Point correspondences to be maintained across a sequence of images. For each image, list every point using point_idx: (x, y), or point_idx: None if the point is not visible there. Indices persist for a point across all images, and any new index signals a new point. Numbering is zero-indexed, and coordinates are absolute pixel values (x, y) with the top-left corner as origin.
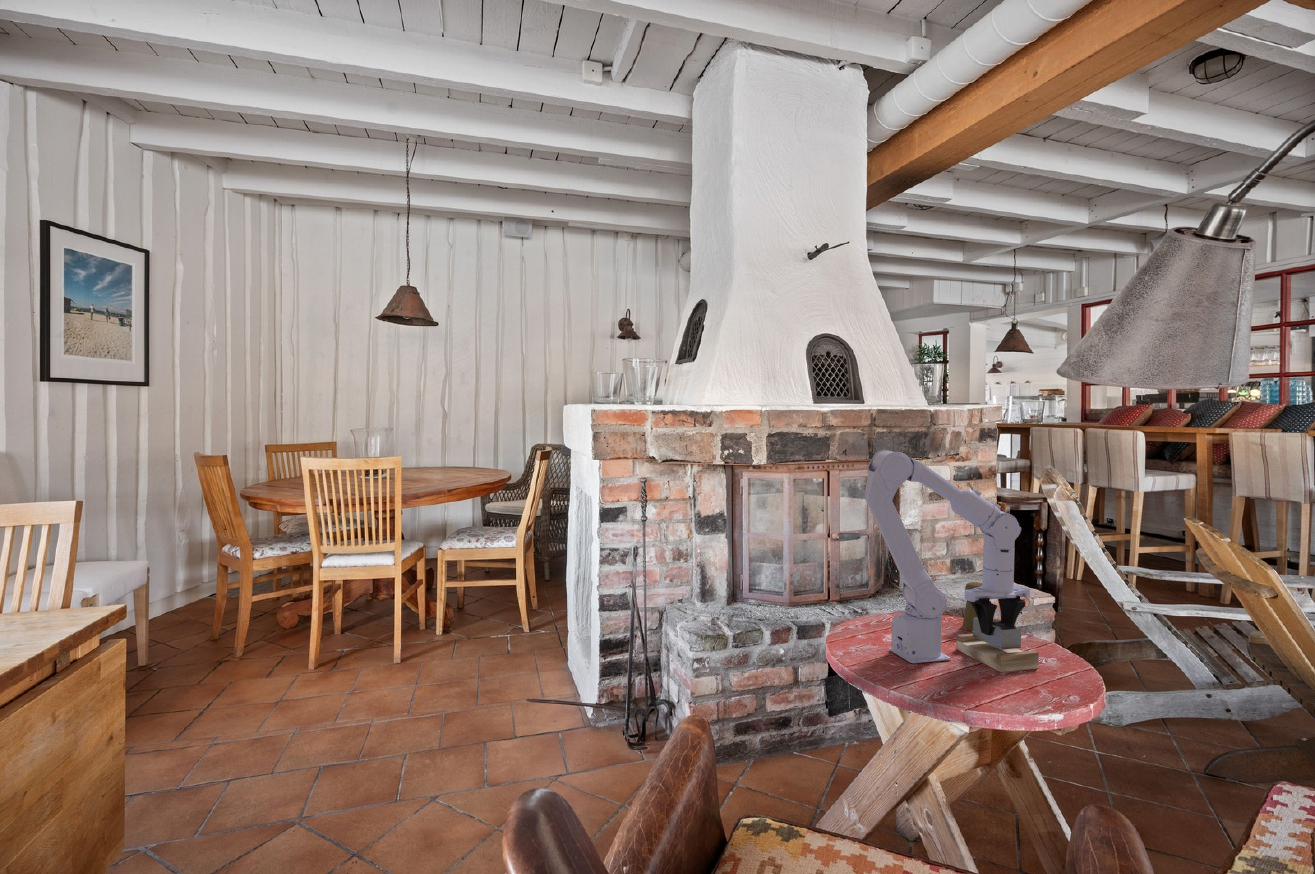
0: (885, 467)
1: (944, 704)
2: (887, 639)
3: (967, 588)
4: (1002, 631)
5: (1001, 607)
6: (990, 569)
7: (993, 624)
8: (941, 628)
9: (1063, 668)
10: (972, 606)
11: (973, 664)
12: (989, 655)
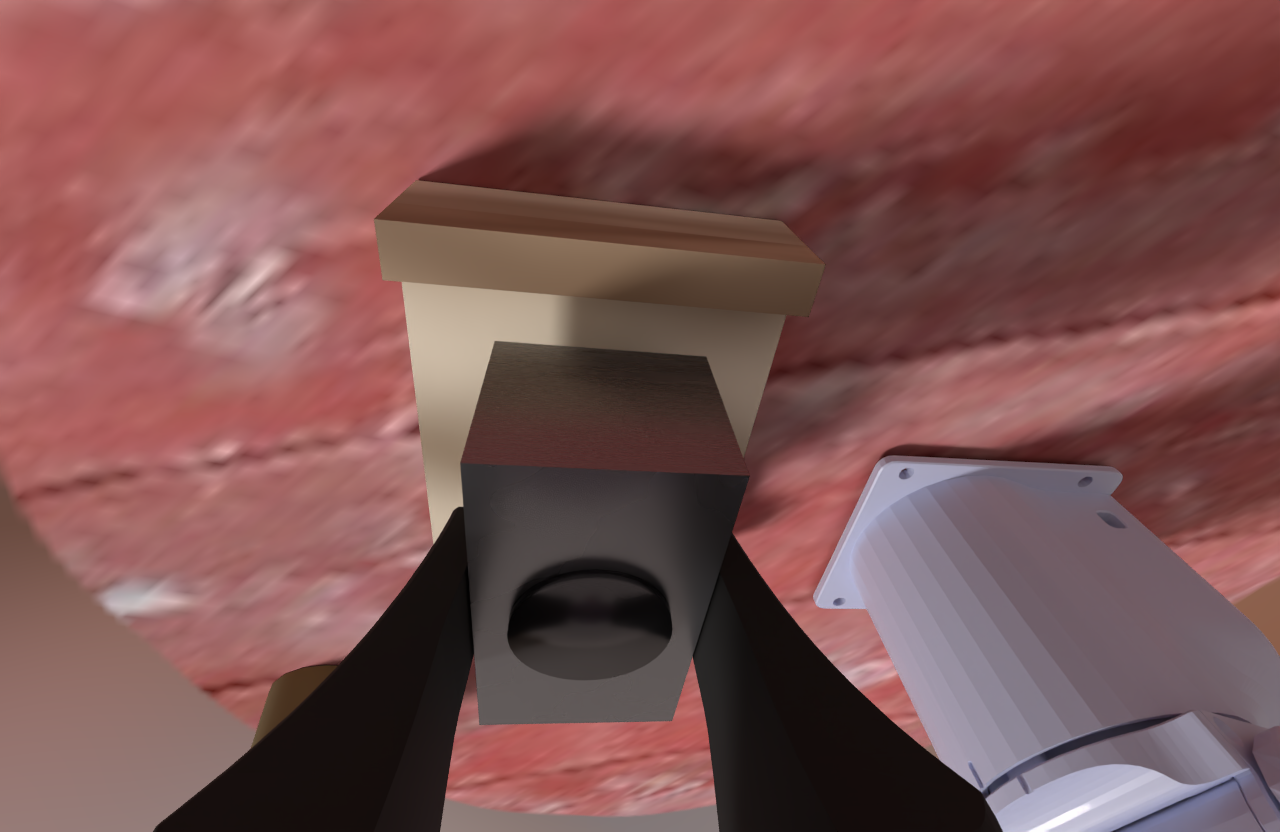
0: None
1: None
2: (878, 671)
3: None
4: (743, 463)
5: (440, 812)
6: None
7: (666, 600)
8: (1005, 641)
9: (163, 92)
10: None
11: (817, 377)
12: (753, 374)
